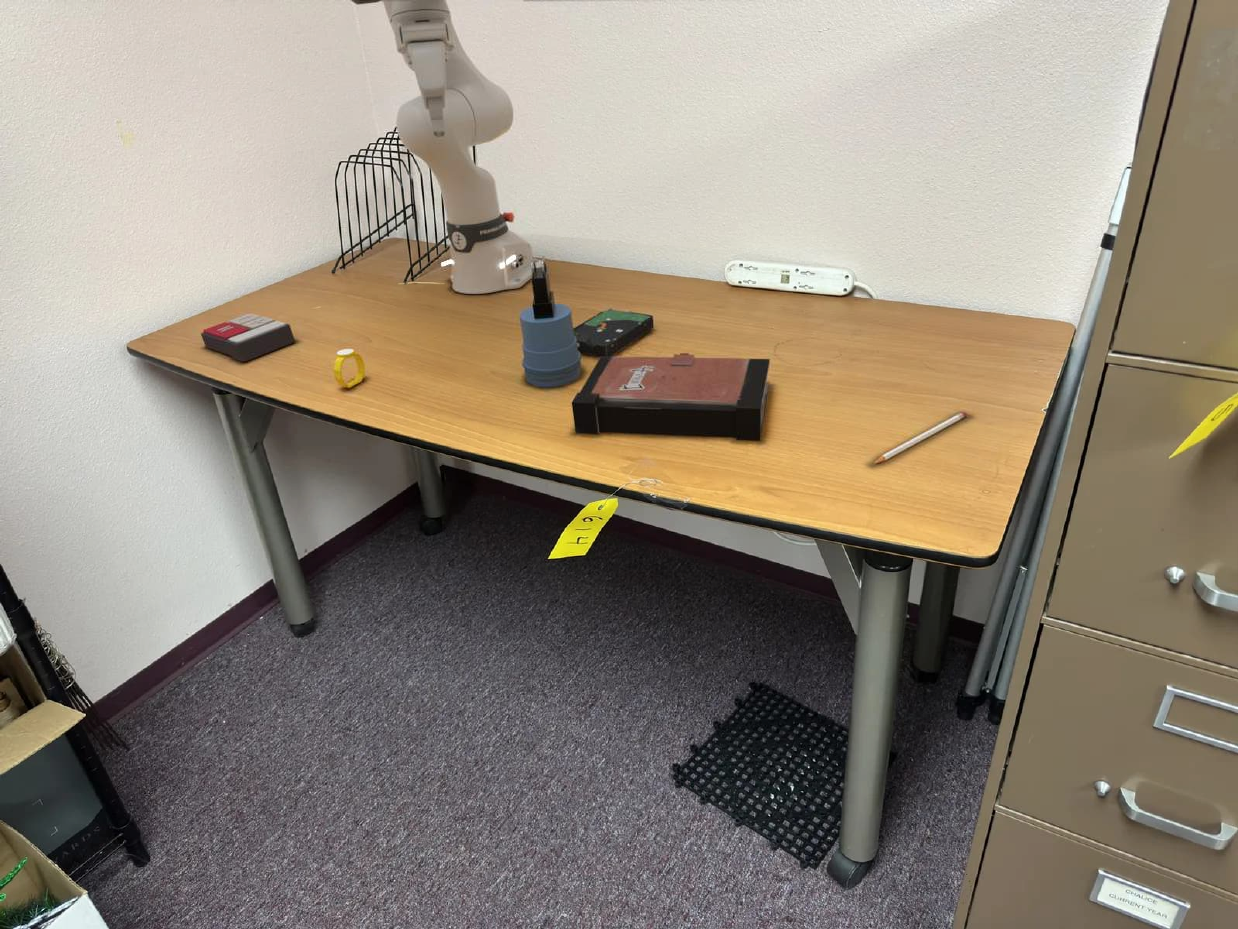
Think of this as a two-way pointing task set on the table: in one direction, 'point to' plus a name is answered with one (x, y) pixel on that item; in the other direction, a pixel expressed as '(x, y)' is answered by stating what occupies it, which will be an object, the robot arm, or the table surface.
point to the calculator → (248, 336)
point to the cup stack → (550, 348)
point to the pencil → (921, 437)
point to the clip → (542, 292)
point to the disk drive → (611, 332)
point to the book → (674, 397)
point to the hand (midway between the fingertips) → (439, 134)
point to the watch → (338, 365)
